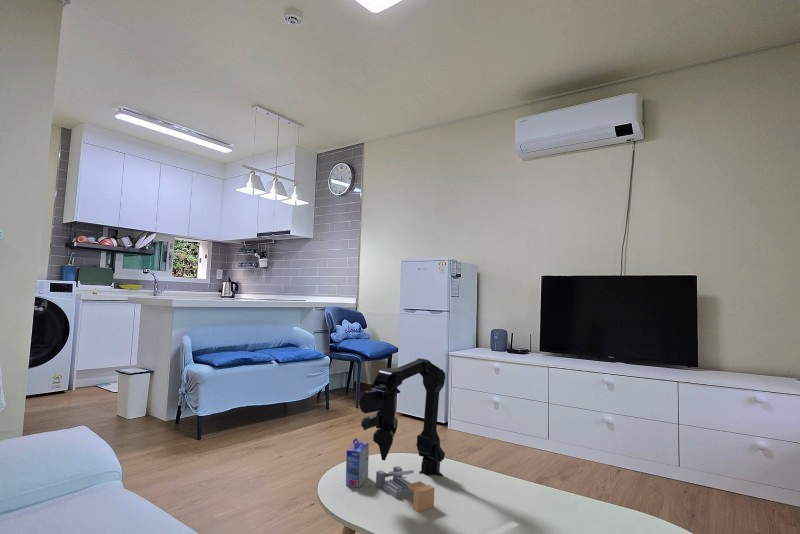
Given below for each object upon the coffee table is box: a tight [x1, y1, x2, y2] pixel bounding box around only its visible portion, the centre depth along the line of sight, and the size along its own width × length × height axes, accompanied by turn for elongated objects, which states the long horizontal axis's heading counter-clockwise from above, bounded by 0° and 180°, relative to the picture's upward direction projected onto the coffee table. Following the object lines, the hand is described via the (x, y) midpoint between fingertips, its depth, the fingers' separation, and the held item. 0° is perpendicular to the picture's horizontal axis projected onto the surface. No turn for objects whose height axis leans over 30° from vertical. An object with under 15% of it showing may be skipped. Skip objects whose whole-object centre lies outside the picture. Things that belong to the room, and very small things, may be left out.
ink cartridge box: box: [345, 437, 370, 488], centre depth 155 cm, size 10×6×14 cm, turn 165°
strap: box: [385, 469, 415, 478], centre depth 146 cm, size 3×13×1 cm, turn 36°
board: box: [362, 465, 414, 499], centre depth 143 cm, size 18×23×6 cm
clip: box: [408, 480, 436, 512], centre depth 137 cm, size 6×6×6 cm
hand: (385, 454), depth 145 cm, fingers open, 9 cm apart
